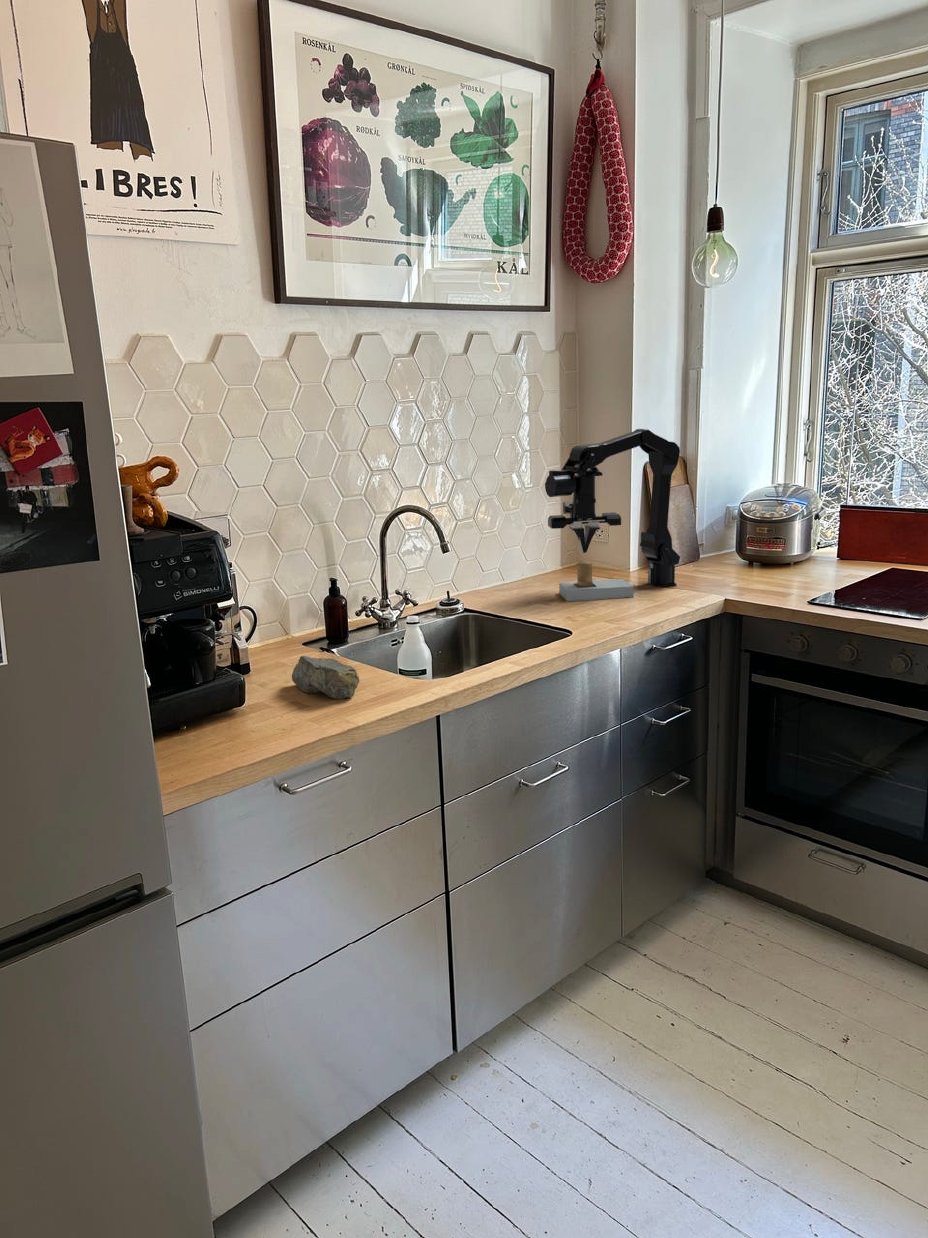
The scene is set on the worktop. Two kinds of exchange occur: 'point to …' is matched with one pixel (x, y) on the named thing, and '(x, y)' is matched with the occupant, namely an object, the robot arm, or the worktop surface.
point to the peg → (584, 574)
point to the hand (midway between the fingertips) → (584, 552)
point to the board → (596, 590)
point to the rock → (325, 677)
